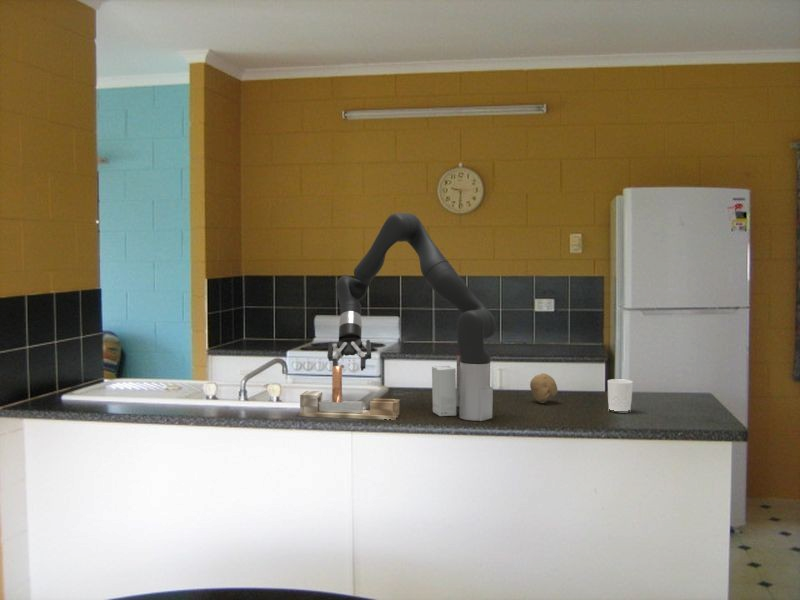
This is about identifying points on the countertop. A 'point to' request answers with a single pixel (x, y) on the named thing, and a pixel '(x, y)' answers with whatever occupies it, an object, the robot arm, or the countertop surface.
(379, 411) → the channel and socket
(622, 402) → the white cup
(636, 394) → the countertop surface
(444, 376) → the skincare box
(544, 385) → the tan round lump
